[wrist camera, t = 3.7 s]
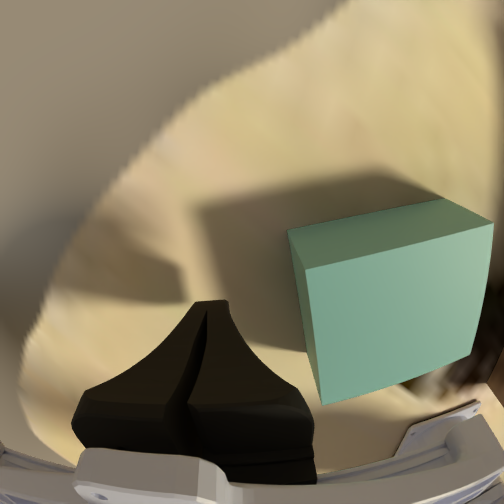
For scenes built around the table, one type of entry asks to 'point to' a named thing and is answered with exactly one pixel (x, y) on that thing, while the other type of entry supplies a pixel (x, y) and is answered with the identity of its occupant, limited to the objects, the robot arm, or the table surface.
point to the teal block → (389, 293)
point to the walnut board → (498, 379)
